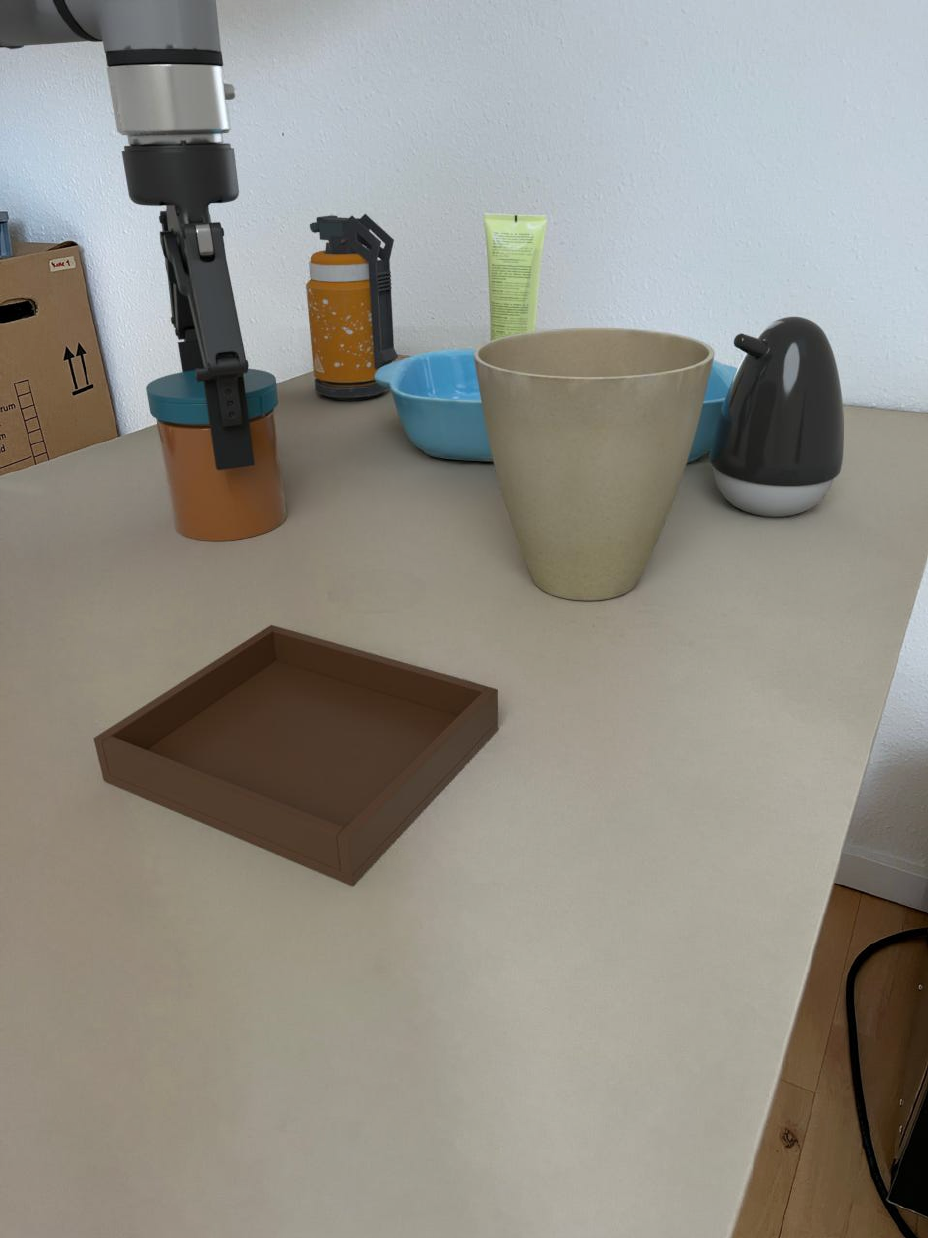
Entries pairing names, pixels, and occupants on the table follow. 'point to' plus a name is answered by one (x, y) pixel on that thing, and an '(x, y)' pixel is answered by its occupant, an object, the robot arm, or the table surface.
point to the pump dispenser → (780, 421)
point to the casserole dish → (452, 410)
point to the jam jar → (223, 482)
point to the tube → (513, 271)
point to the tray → (303, 747)
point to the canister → (350, 307)
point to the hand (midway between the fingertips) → (220, 441)
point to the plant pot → (590, 446)
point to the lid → (187, 401)
